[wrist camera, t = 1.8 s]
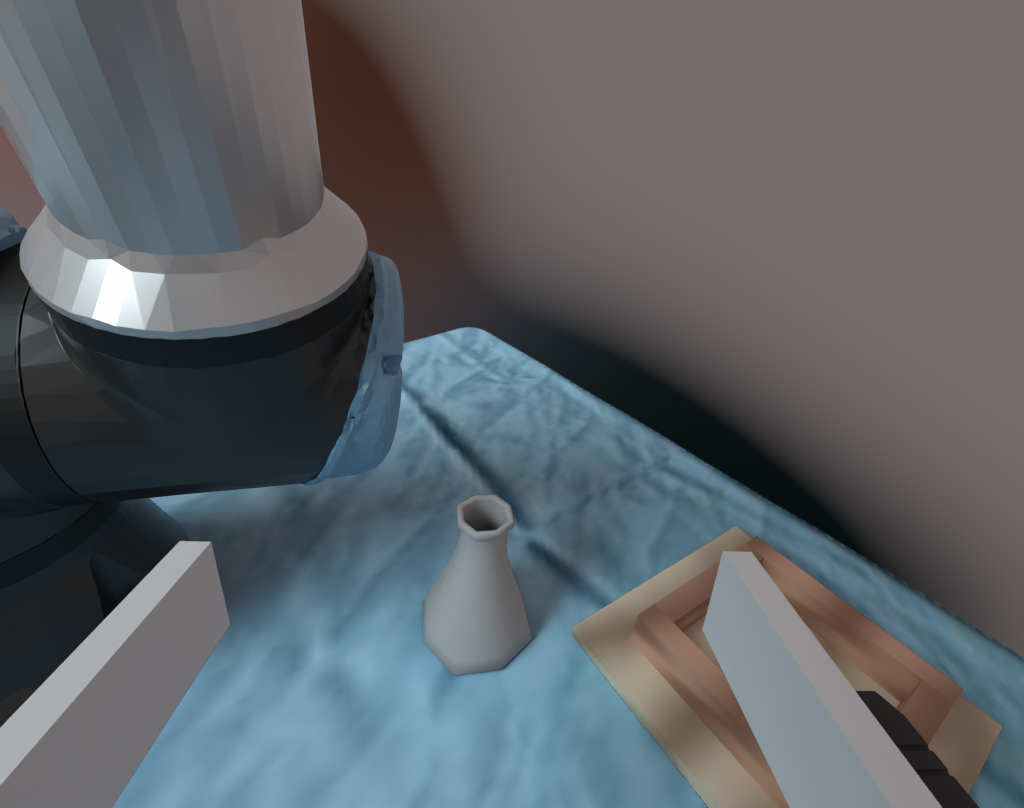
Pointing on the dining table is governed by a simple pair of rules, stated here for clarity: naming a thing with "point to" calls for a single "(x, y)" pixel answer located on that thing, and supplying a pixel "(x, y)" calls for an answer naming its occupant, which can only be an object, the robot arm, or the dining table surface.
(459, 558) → the flask
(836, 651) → the dock board
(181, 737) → the dining table surface
